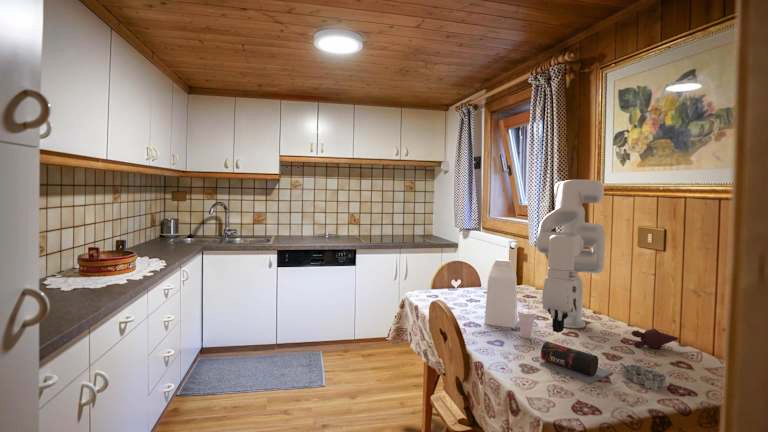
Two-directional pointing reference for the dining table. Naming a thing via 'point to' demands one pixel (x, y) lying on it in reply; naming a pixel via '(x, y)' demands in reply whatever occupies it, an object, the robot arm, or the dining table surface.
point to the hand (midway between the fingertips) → (557, 331)
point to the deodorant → (570, 358)
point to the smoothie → (526, 321)
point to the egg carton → (644, 375)
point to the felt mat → (578, 375)
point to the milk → (502, 295)
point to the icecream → (652, 338)
